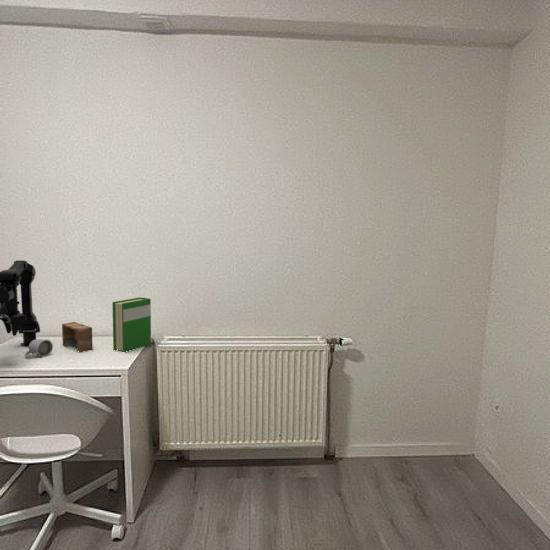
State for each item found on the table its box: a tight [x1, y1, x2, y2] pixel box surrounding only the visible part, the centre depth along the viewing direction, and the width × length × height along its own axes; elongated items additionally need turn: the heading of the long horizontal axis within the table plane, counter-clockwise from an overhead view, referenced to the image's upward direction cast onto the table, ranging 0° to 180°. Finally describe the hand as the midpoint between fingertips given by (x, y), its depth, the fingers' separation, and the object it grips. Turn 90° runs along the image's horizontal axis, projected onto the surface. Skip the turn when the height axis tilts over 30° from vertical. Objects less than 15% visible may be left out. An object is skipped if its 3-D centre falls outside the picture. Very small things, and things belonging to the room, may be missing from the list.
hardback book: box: [112, 297, 152, 353], centre depth 212 cm, size 18×7×24 cm, turn 151°
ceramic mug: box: [24, 338, 54, 359], centre depth 196 cm, size 11×8×8 cm
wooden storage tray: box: [61, 321, 94, 353], centre depth 210 cm, size 18×6×11 cm, turn 51°
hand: (11, 334), depth 187 cm, fingers open, 6 cm apart
